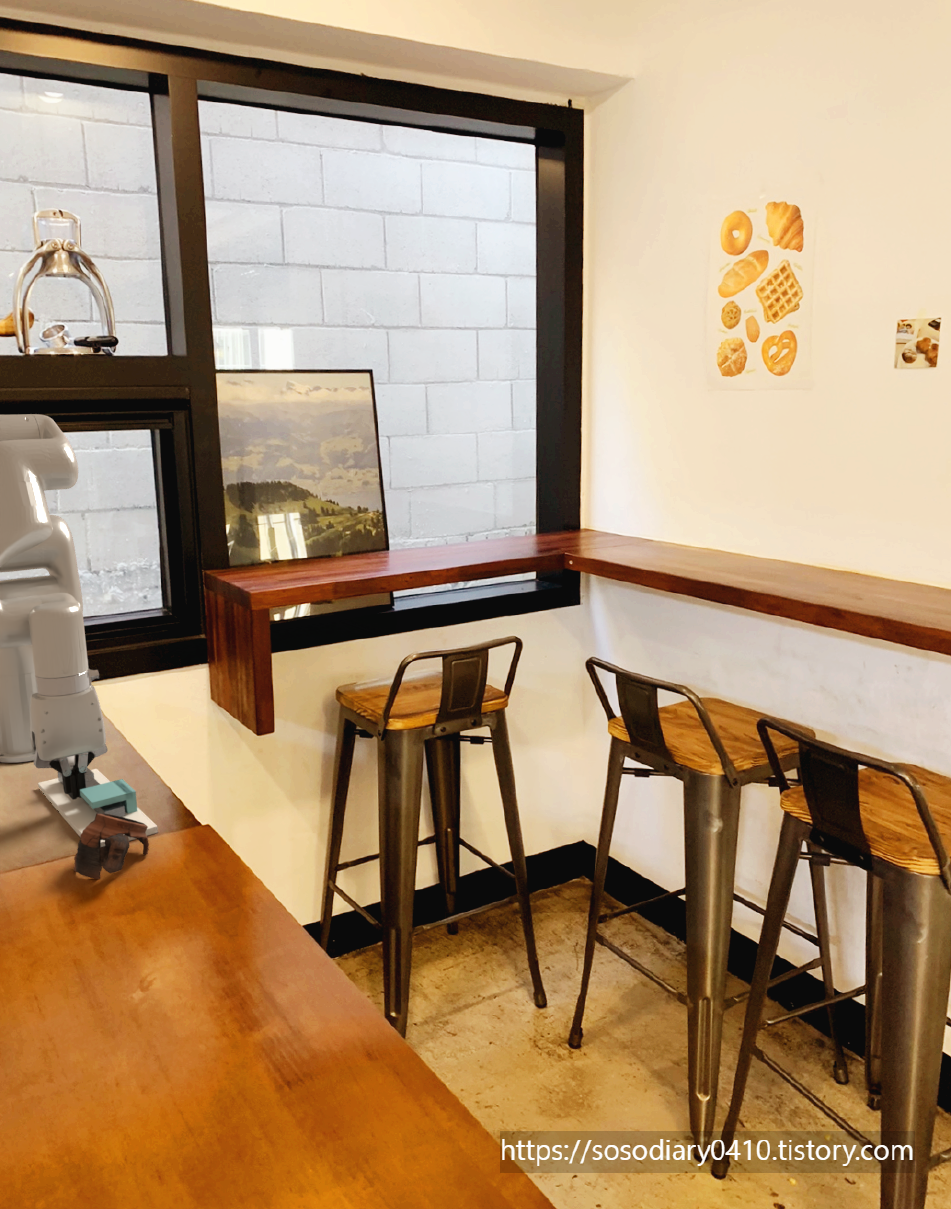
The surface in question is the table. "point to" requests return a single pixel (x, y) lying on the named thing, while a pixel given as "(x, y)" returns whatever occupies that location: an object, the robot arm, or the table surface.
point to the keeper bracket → (111, 795)
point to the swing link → (111, 809)
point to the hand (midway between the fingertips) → (75, 795)
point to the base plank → (84, 805)
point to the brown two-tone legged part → (107, 844)
